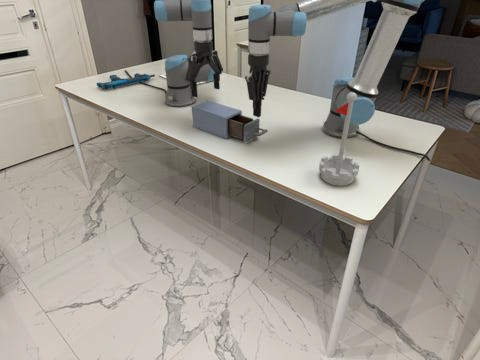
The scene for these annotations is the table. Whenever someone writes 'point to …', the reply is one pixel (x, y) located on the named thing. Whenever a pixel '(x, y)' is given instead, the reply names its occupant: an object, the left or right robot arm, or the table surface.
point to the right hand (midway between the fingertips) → (256, 115)
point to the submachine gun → (124, 81)
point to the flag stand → (341, 154)
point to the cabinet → (213, 117)
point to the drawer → (244, 128)
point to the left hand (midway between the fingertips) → (206, 92)
